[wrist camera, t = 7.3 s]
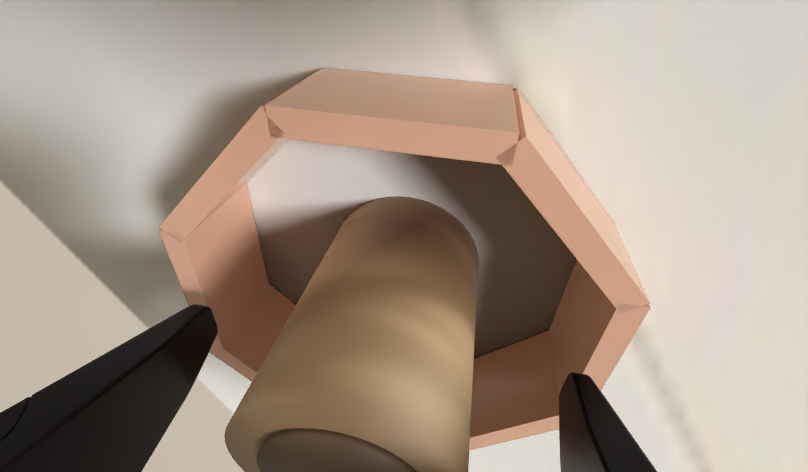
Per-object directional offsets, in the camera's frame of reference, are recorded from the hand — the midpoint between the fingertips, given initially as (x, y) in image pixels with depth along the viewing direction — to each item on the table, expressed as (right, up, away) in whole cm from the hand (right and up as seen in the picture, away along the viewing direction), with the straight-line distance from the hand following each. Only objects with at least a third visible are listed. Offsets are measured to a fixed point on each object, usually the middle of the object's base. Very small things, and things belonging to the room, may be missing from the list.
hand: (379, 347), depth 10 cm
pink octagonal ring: (+1, +2, +3) cm, 4 cm away
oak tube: (+1, +2, +3) cm, 4 cm away
